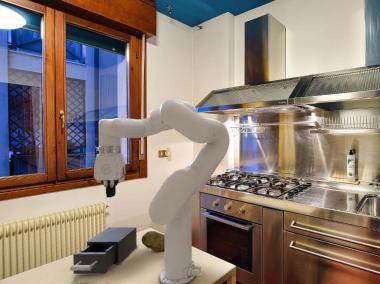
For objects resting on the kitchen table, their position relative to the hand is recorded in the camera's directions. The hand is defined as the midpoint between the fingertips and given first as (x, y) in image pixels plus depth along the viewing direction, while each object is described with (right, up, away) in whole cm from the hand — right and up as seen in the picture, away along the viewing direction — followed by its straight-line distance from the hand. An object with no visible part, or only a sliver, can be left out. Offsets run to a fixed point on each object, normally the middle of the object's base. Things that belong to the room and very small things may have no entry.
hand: (110, 196), depth 90 cm
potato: (+13, -27, +13) cm, 33 cm away
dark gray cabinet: (-3, -27, +8) cm, 28 cm away
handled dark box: (-3, -26, -3) cm, 27 cm away
